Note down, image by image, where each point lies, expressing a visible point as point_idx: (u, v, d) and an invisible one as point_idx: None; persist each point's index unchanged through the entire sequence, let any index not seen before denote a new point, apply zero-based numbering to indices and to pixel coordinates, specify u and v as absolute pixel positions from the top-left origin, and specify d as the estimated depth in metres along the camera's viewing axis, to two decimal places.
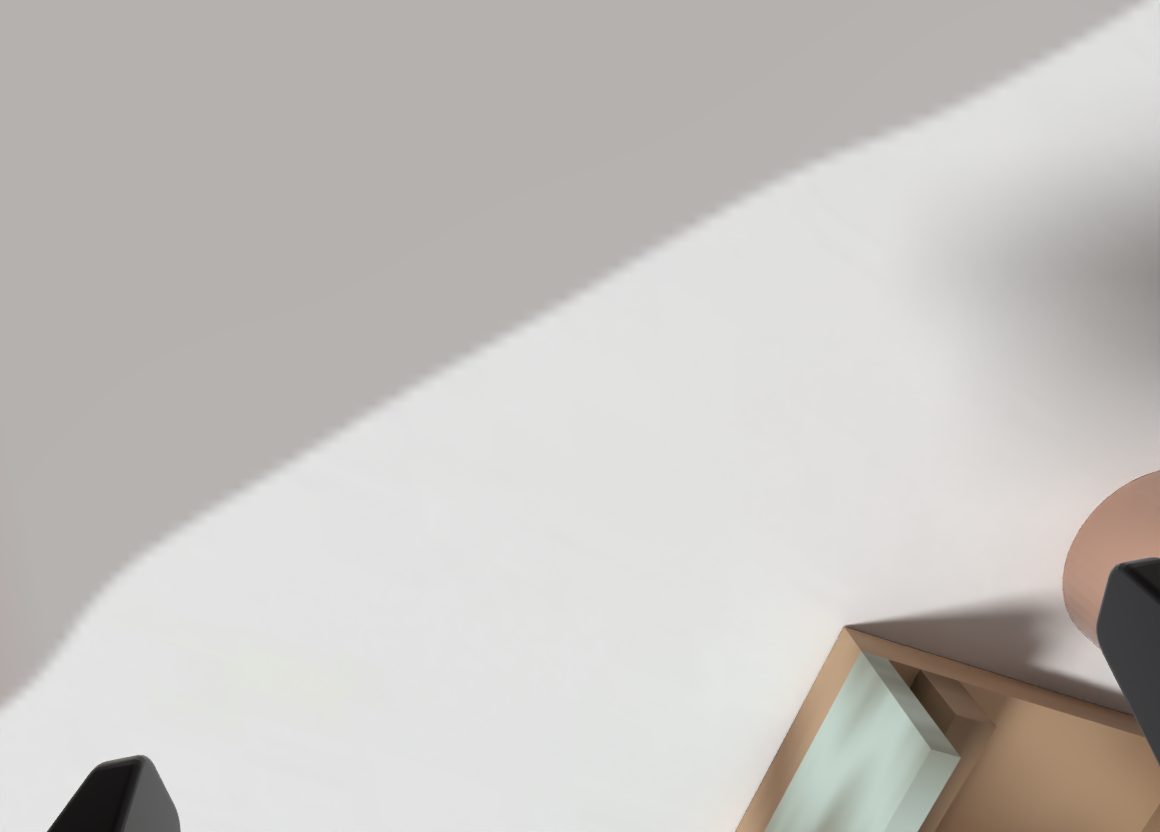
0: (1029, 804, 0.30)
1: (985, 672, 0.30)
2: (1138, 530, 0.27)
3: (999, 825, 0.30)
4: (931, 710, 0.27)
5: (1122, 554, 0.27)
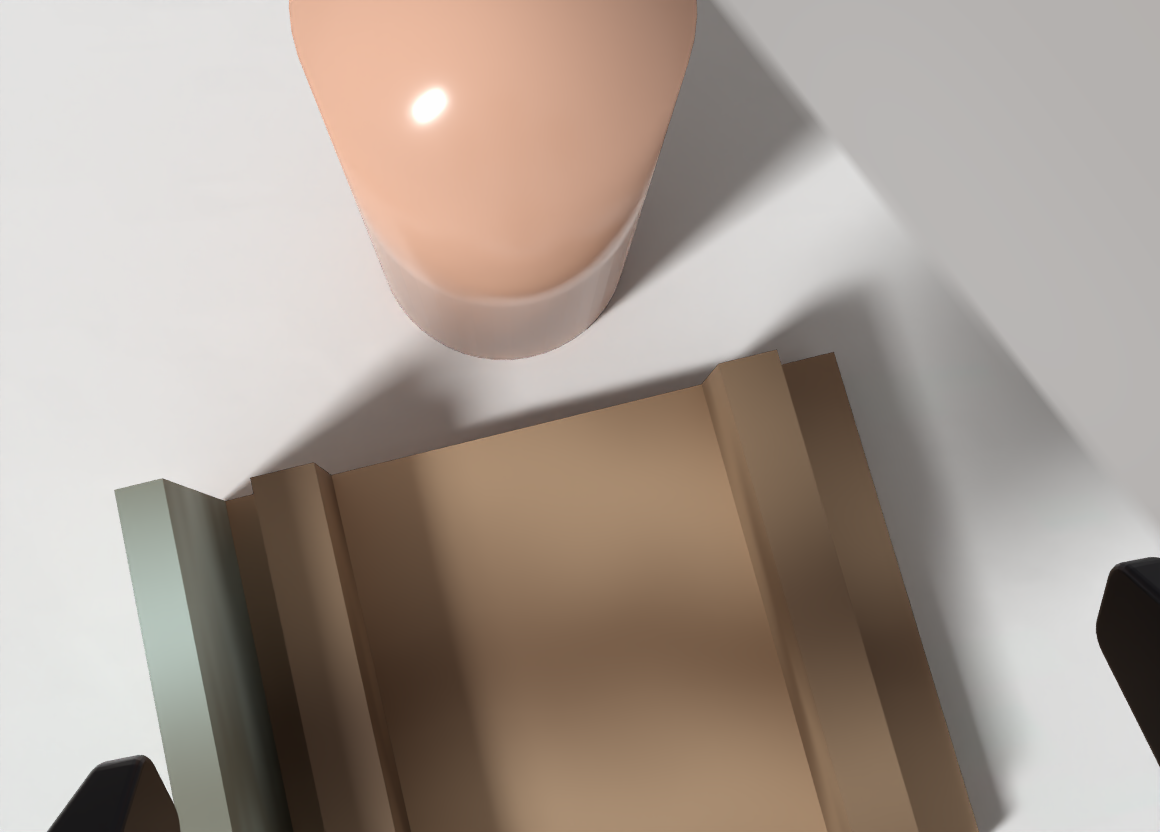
0: (558, 565, 0.22)
1: None
2: None
3: (544, 613, 0.22)
4: None
5: None
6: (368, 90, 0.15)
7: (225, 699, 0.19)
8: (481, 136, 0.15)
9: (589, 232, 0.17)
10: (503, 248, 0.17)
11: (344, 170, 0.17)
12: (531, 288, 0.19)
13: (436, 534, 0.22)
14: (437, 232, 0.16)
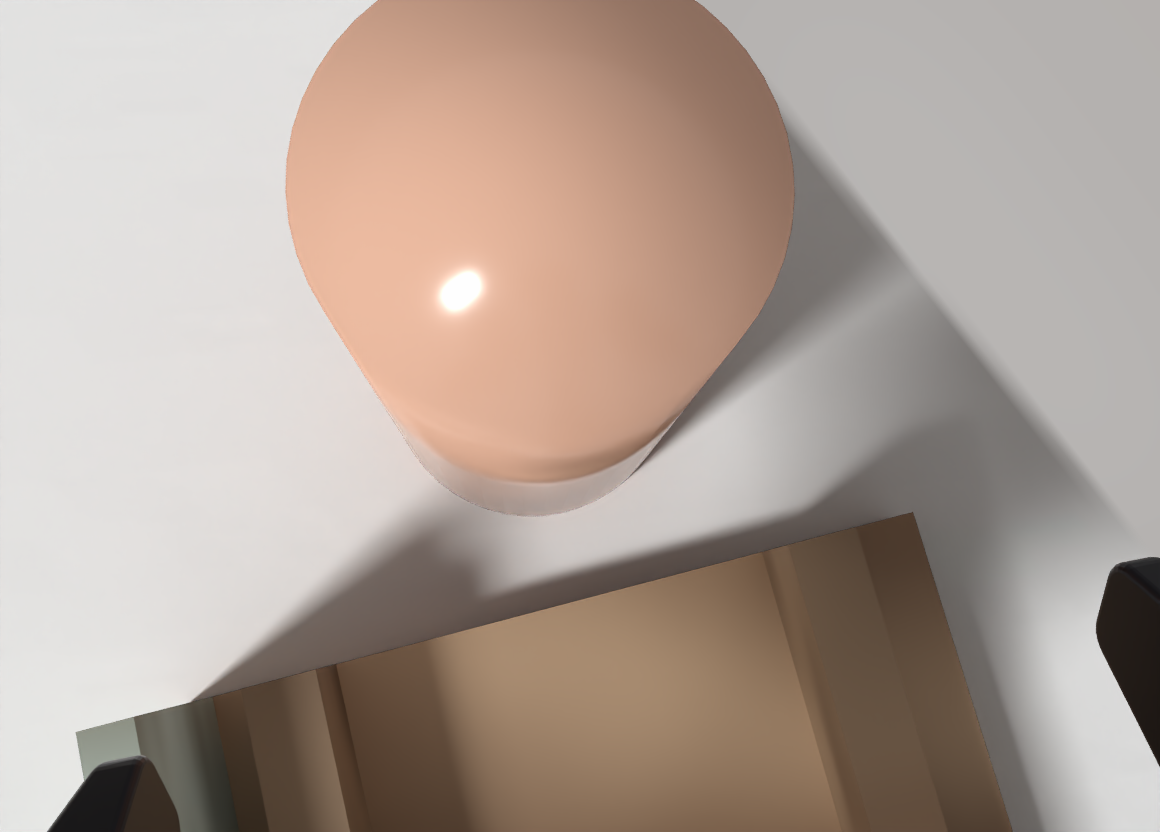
0: (599, 769, 0.19)
1: None
2: None
3: (583, 827, 0.19)
4: None
5: None
6: (385, 298, 0.12)
7: None
8: (527, 355, 0.12)
9: (649, 432, 0.14)
10: (546, 459, 0.14)
11: None
12: (573, 478, 0.16)
13: (457, 734, 0.19)
14: (469, 445, 0.13)
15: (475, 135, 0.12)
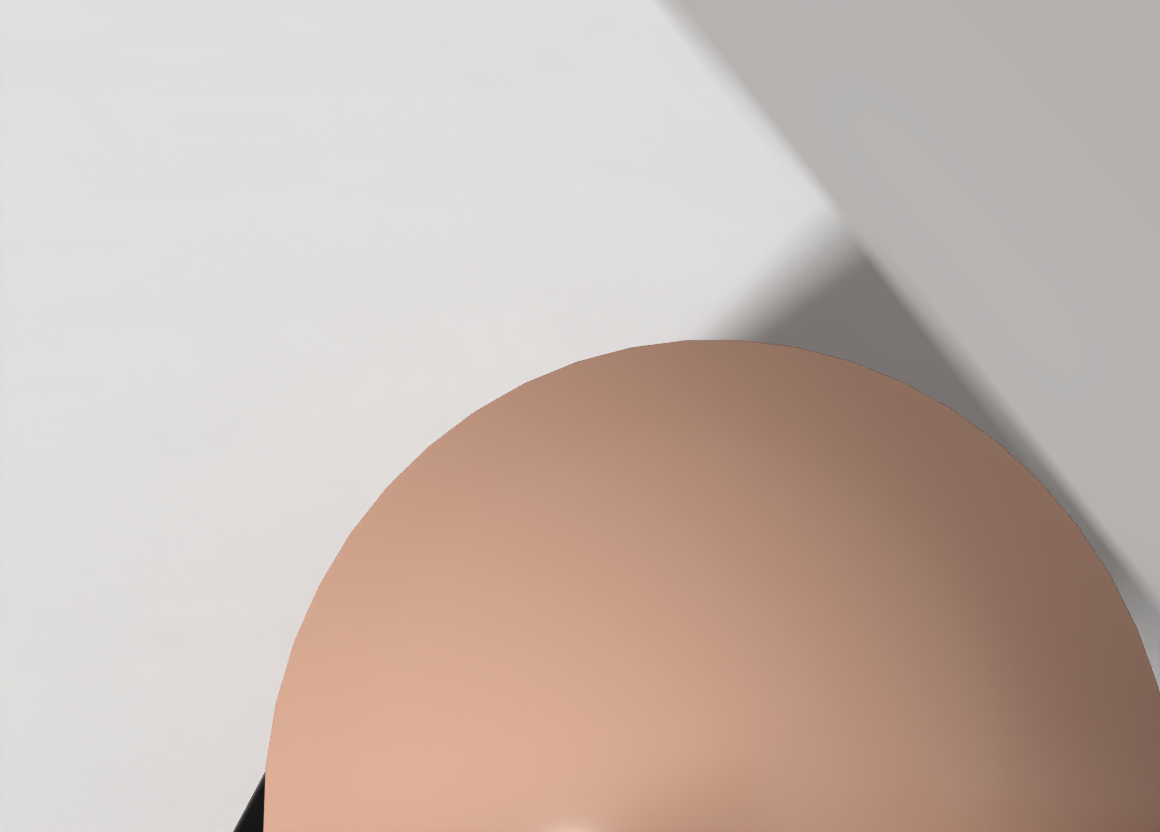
0: None
1: None
2: None
3: None
4: None
5: None
6: None
7: None
8: None
9: None
10: None
11: None
12: None
13: None
14: None
15: (607, 706, 0.07)
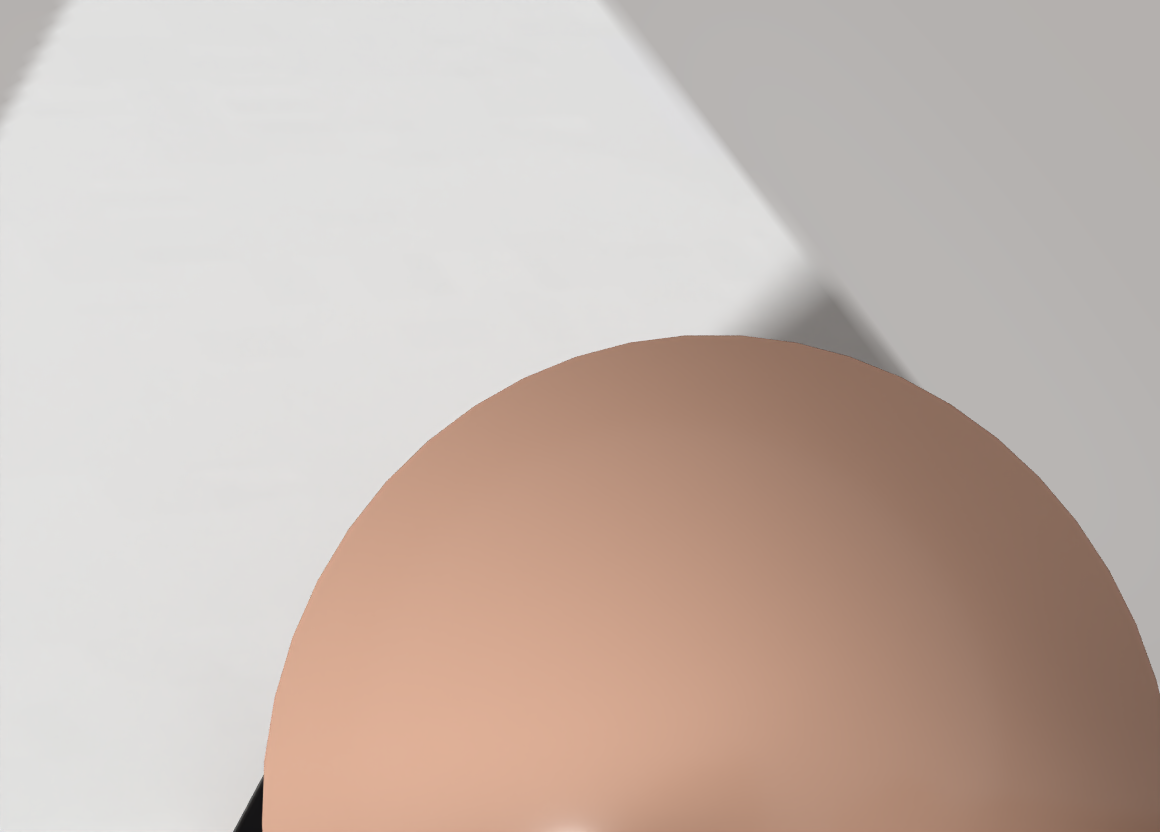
0: None
1: None
2: None
3: None
4: None
5: None
6: None
7: None
8: None
9: None
10: None
11: None
12: None
13: None
14: None
15: (604, 702, 0.07)
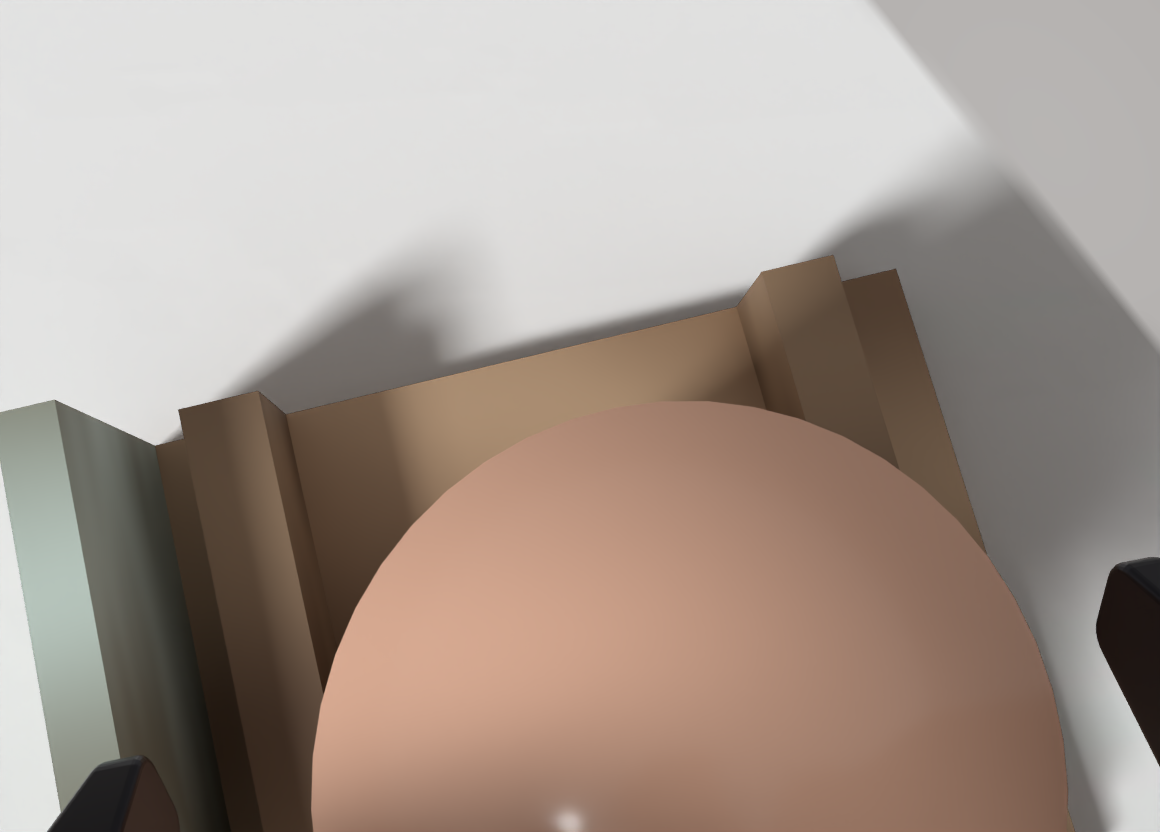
0: None
1: None
2: None
3: None
4: None
5: None
6: None
7: (138, 685, 0.15)
8: None
9: None
10: None
11: None
12: None
13: (414, 486, 0.18)
14: None
15: (594, 707, 0.08)
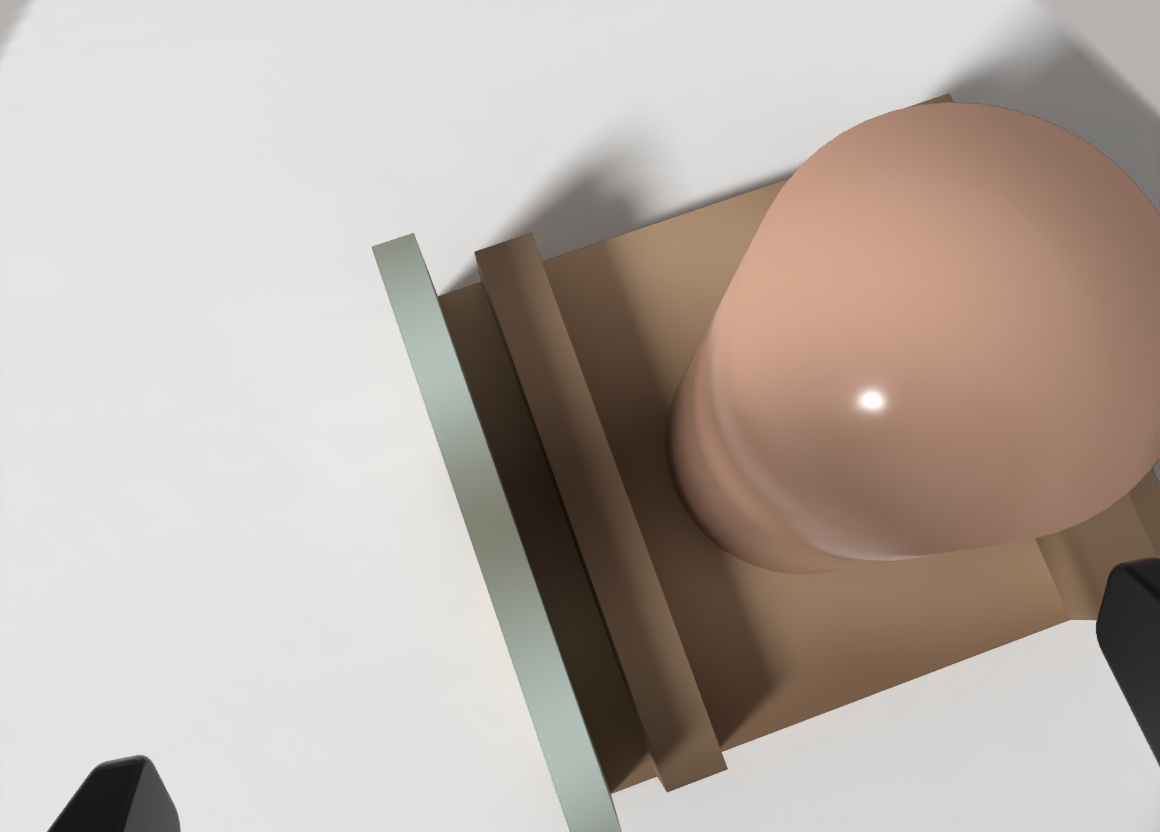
0: None
1: None
2: (673, 428, 0.22)
3: None
4: (484, 286, 0.22)
5: (678, 461, 0.21)
6: (850, 439, 0.13)
7: (485, 439, 0.20)
8: (984, 479, 0.13)
9: None
10: (947, 552, 0.15)
11: (745, 470, 0.16)
12: None
13: (637, 309, 0.24)
14: (883, 548, 0.15)
15: (905, 282, 0.13)
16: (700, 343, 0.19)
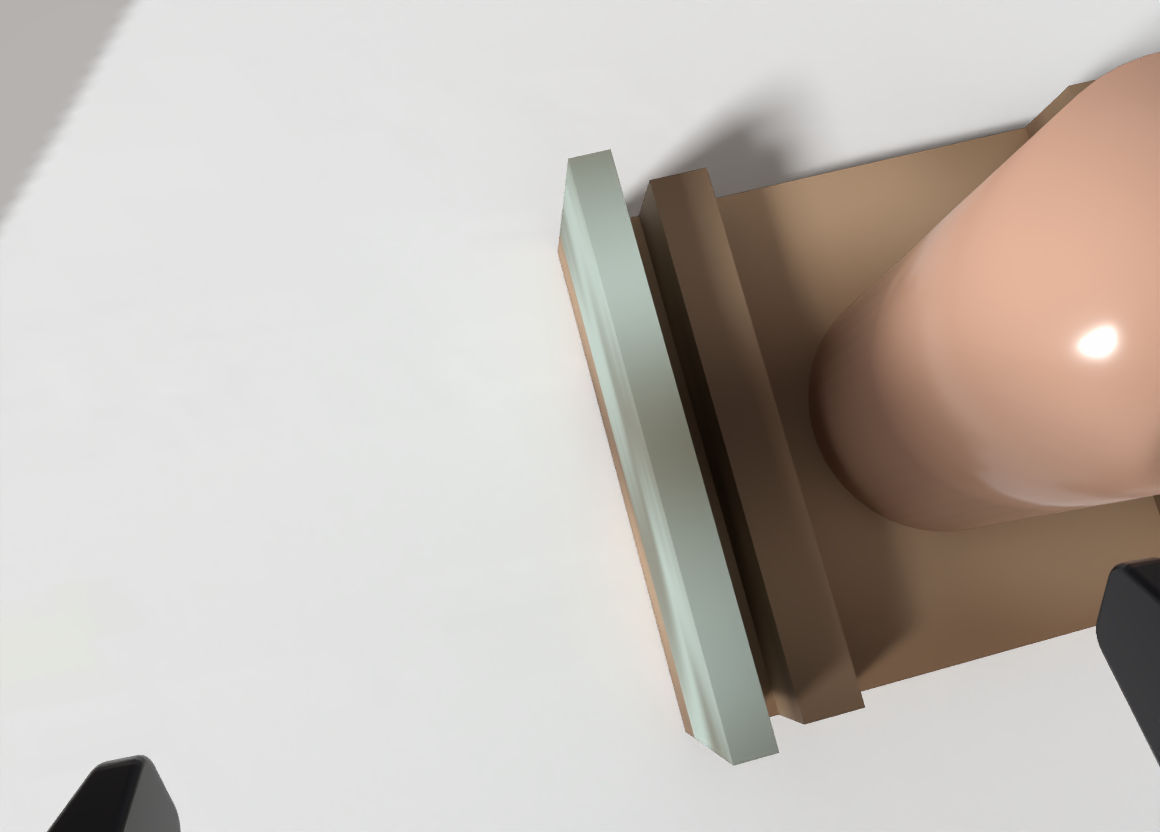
0: None
1: None
2: (829, 372, 0.22)
3: None
4: (650, 217, 0.23)
5: (834, 404, 0.22)
6: (1117, 359, 0.13)
7: None
8: None
9: None
10: (1158, 492, 0.15)
11: (959, 398, 0.16)
12: (1103, 504, 0.18)
13: (790, 258, 0.24)
14: (1103, 480, 0.15)
15: None
16: (889, 282, 0.19)
